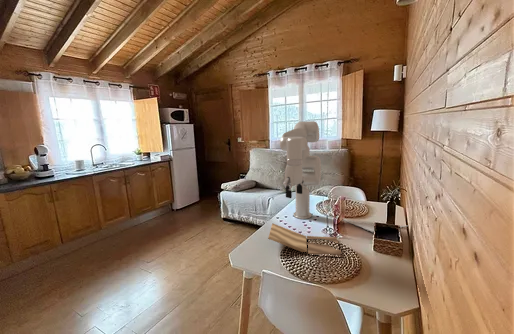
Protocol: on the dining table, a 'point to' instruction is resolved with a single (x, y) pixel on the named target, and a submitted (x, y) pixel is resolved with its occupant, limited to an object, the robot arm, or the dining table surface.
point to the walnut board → (322, 246)
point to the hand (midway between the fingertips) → (294, 195)
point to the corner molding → (364, 225)
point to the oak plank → (288, 238)
